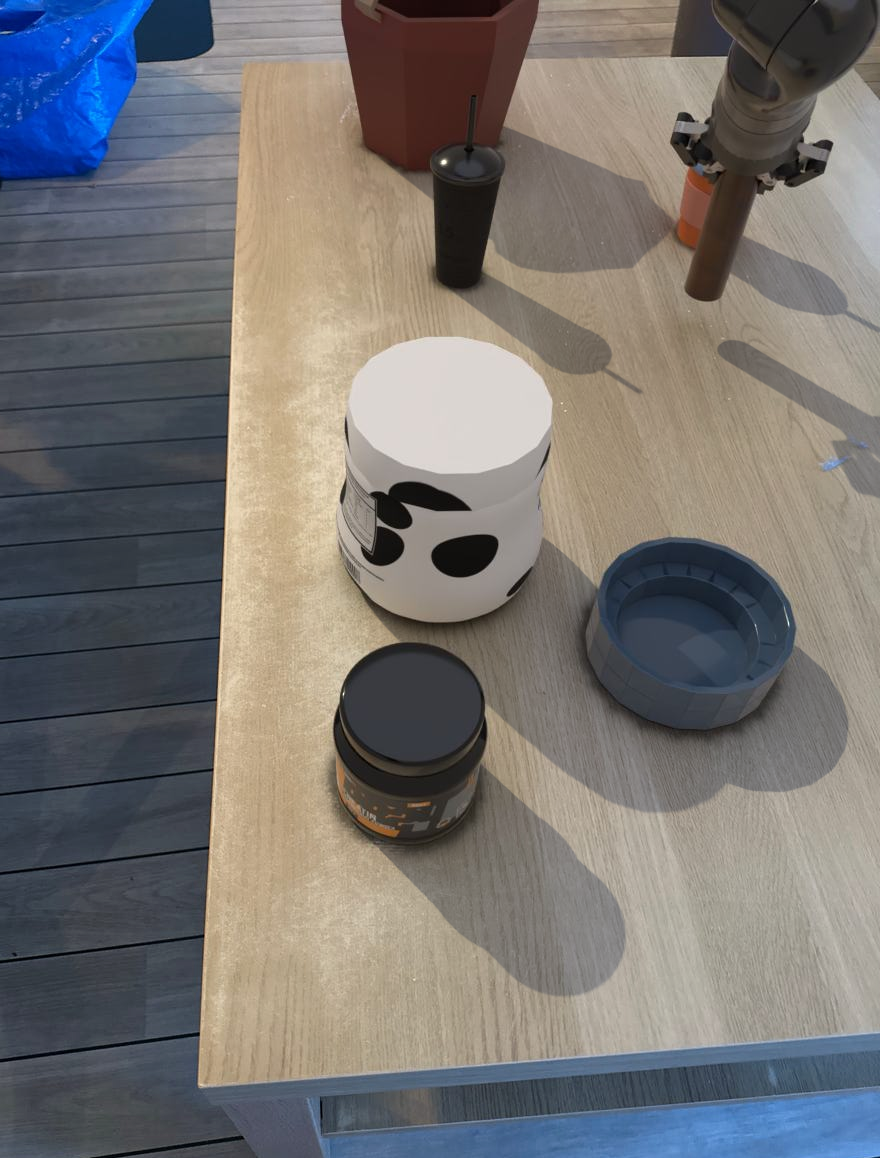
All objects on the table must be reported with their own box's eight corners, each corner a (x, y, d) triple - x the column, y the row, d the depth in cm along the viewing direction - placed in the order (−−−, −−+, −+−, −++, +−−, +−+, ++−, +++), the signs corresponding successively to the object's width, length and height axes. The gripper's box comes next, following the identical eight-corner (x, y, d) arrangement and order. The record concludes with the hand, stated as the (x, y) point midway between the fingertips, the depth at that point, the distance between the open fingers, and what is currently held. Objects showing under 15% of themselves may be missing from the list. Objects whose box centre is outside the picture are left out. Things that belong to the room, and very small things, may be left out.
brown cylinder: (719, 279, 104) (766, 137, 92) (725, 302, 102) (774, 160, 89) (681, 277, 104) (723, 135, 92) (686, 301, 102) (730, 158, 89)
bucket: (464, 84, 137) (482, -137, 117) (561, 159, 126) (599, -69, 106) (308, 127, 129) (298, -102, 108) (397, 211, 118) (405, -25, 98)
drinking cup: (440, 252, 114) (453, 69, 97) (502, 271, 112) (525, 88, 96) (411, 288, 110) (420, 103, 93) (475, 308, 108) (495, 123, 92)
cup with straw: (695, 209, 120) (742, 52, 106) (757, 243, 117) (814, 84, 102) (648, 237, 117) (689, 78, 102) (710, 272, 113) (762, 112, 98)
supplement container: (307, 771, 74) (299, 685, 65) (417, 700, 78) (425, 609, 69) (392, 878, 70) (398, 802, 60) (505, 797, 74) (527, 713, 64)
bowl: (751, 586, 86) (775, 541, 81) (785, 738, 77) (814, 698, 73) (577, 579, 86) (590, 533, 81) (591, 730, 77) (607, 689, 72)
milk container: (560, 525, 90) (599, 365, 75) (492, 669, 80) (521, 518, 66) (386, 466, 93) (391, 302, 79) (302, 597, 84) (289, 438, 69)
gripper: (870, 75, 76) (826, 152, 93) (687, 42, 79) (676, 123, 95) (837, 176, 78) (800, 234, 94) (658, 140, 80) (653, 203, 97)
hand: (738, 178), depth 95 cm, fingers closed on brown cylinder, 4 cm apart
